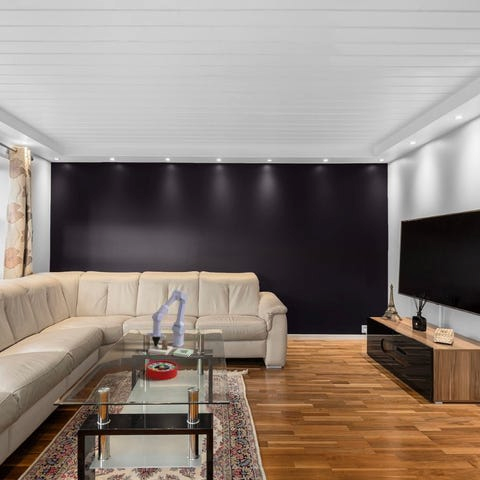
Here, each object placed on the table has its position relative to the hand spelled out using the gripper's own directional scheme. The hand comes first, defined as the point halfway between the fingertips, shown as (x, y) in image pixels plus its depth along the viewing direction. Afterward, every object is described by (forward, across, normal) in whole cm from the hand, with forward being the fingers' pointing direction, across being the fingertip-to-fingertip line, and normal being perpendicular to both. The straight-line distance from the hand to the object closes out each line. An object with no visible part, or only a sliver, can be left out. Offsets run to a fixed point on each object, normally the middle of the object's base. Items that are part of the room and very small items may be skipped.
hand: (155, 346), depth 314 cm
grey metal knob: (+3, 0, 0) cm, 3 cm away
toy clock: (+3, +21, -42) cm, 47 cm away
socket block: (+3, +4, 0) cm, 5 cm away
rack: (+3, +22, 0) cm, 22 cm away
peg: (+3, +7, 0) cm, 8 cm away
